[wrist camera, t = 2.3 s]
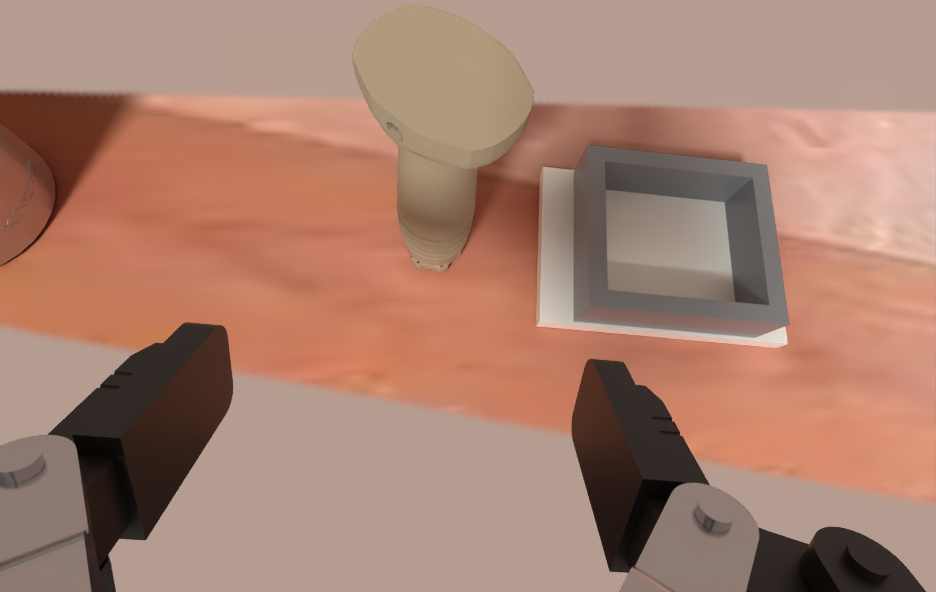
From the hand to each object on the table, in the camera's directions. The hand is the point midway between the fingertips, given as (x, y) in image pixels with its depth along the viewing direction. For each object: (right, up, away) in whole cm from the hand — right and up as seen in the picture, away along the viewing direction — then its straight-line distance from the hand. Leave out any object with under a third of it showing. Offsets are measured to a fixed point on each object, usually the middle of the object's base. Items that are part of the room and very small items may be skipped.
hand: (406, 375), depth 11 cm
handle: (-1, +4, +20) cm, 21 cm away
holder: (+13, +4, +21) cm, 25 cm away
